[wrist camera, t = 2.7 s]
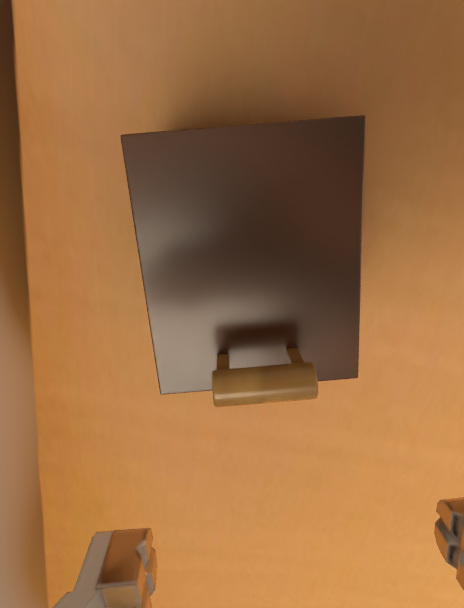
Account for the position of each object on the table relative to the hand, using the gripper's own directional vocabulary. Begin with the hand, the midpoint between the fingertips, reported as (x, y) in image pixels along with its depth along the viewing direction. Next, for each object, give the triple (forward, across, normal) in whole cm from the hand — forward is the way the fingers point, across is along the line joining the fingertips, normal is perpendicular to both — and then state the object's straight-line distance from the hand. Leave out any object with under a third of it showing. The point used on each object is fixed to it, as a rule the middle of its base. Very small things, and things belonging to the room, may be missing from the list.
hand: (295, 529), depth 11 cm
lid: (+12, 0, -5) cm, 13 cm away
